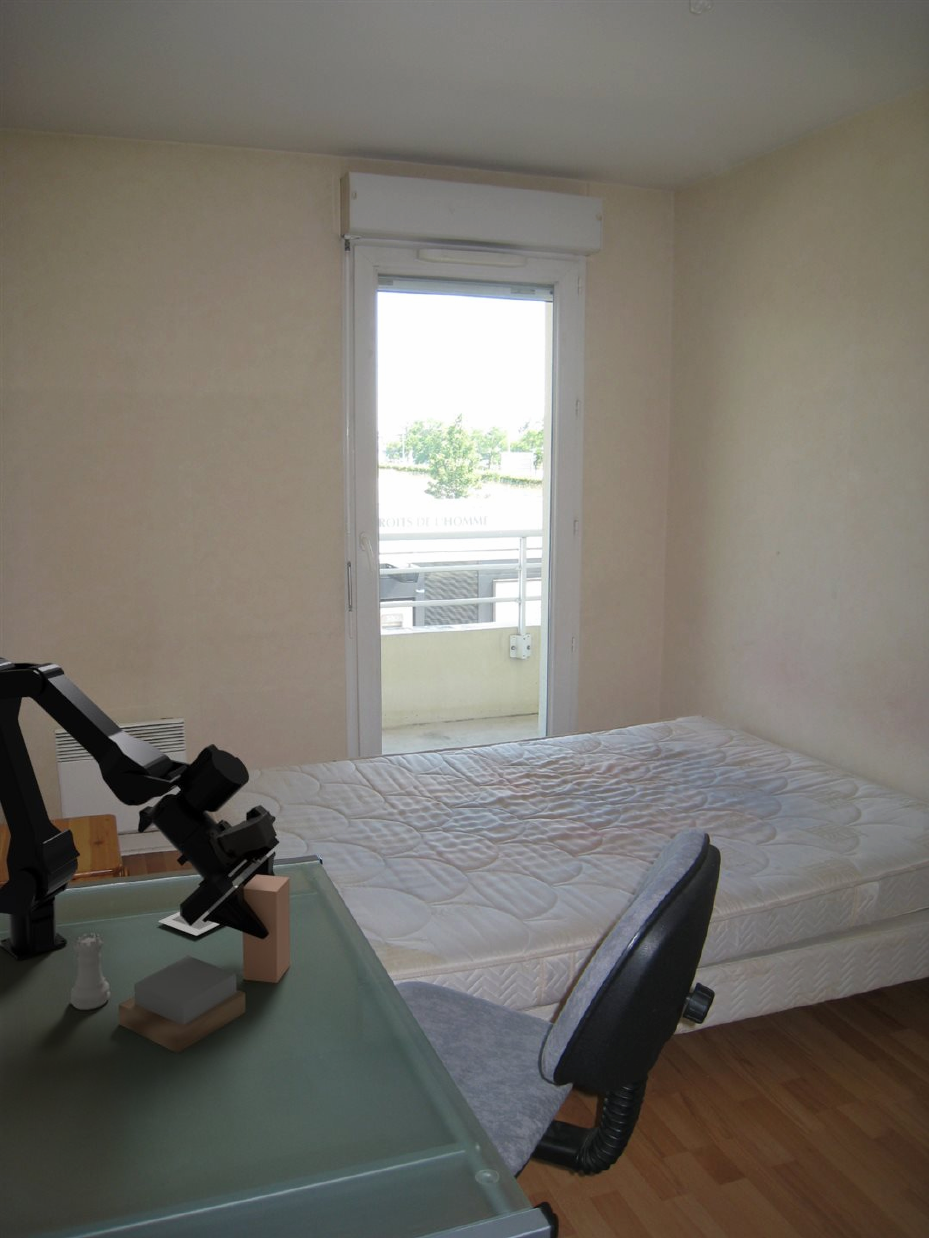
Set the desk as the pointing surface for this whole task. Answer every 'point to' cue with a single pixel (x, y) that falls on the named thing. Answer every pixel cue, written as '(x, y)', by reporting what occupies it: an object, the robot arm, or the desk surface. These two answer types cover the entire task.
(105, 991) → the rook chess piece
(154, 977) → the tower top
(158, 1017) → the tower base
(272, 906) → the pillar
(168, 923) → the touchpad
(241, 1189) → the desk surface
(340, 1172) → the desk surface
